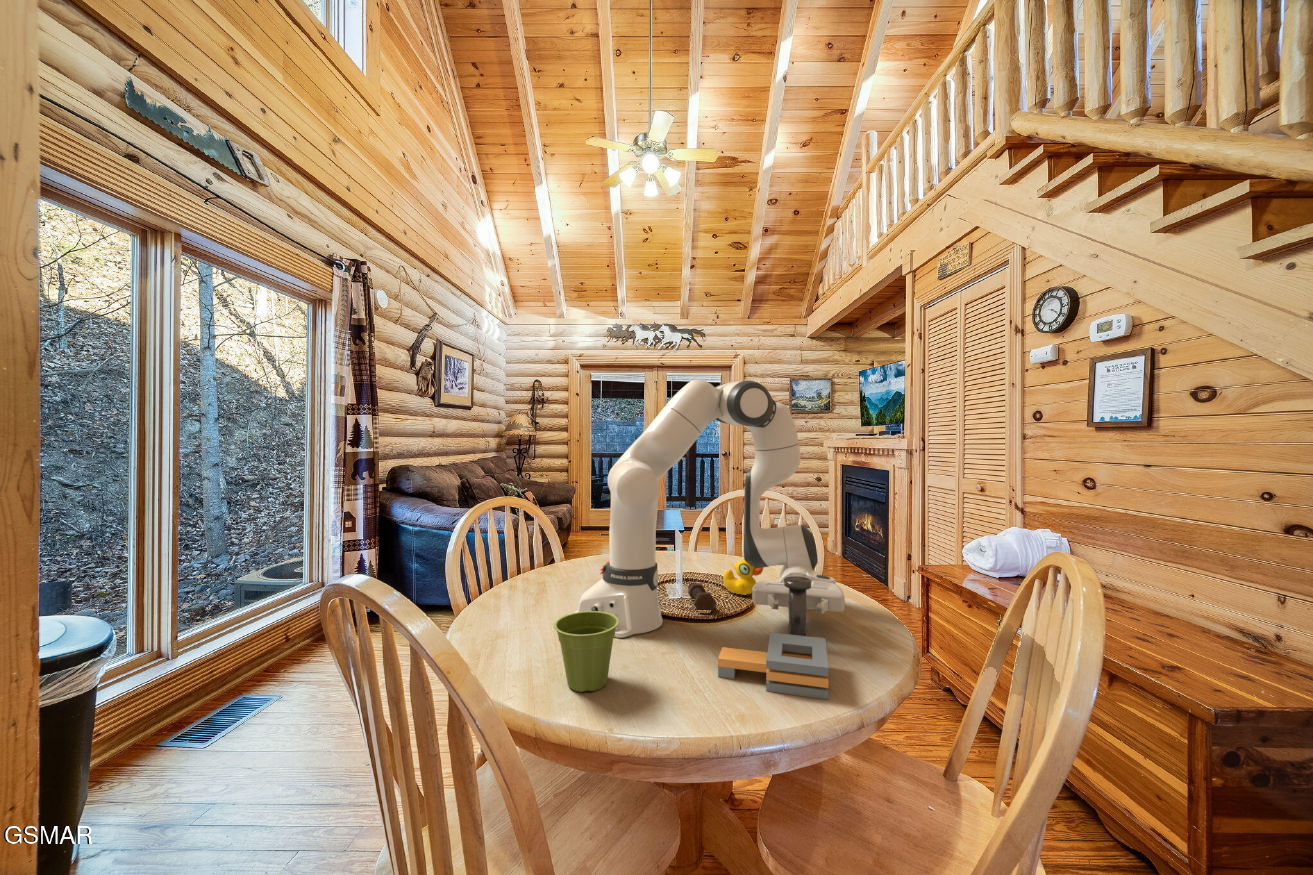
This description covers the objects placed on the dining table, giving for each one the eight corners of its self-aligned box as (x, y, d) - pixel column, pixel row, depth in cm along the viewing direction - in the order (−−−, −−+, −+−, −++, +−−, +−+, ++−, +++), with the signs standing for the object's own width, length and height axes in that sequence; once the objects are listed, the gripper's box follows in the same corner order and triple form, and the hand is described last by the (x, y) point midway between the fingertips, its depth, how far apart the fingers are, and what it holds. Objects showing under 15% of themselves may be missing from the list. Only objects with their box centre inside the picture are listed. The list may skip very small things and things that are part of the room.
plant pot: (627, 670, 96) (626, 612, 96) (607, 704, 85) (607, 638, 84) (569, 664, 99) (569, 607, 99) (542, 695, 87) (542, 632, 87)
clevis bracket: (715, 683, 91) (715, 654, 91) (725, 654, 103) (725, 627, 103) (828, 699, 85) (828, 667, 85) (825, 666, 97) (825, 638, 97)
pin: (783, 650, 104) (783, 582, 104) (784, 639, 110) (784, 575, 110) (811, 653, 103) (811, 585, 103) (811, 642, 108) (811, 577, 108)
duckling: (766, 595, 139) (766, 559, 139) (760, 601, 134) (760, 564, 134) (727, 588, 144) (727, 554, 144) (720, 594, 140) (720, 558, 139)
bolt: (696, 600, 140) (708, 619, 125) (680, 592, 140) (691, 610, 125) (706, 582, 141) (719, 598, 126) (690, 574, 140) (702, 589, 125)
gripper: (753, 571, 124) (748, 589, 110) (841, 578, 118) (847, 597, 105) (753, 597, 124) (748, 617, 110) (841, 605, 118) (847, 627, 105)
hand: (797, 608), depth 107 cm, fingers open, 8 cm apart
